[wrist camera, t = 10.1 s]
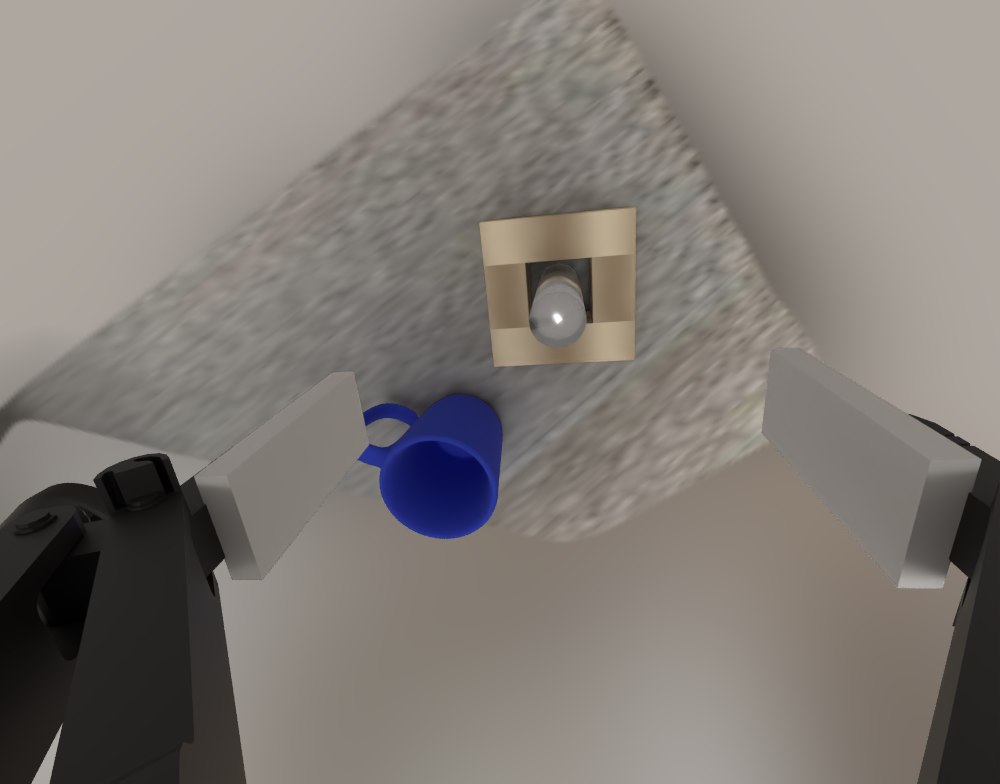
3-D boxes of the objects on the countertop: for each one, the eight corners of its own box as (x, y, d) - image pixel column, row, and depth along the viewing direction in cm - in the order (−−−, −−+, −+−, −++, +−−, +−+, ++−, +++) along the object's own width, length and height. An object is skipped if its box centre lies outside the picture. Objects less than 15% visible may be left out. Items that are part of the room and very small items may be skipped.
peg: (540, 304, 37) (530, 349, 26) (538, 265, 36) (527, 293, 25) (579, 302, 37) (587, 346, 25) (578, 261, 35) (585, 289, 24)
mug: (391, 350, 40) (340, 395, 31) (526, 404, 40) (515, 464, 31) (367, 431, 43) (314, 494, 34) (492, 480, 43) (473, 556, 34)
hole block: (500, 351, 39) (493, 366, 35) (487, 220, 35) (479, 222, 31) (627, 344, 37) (634, 359, 34) (627, 207, 34) (636, 207, 30)
